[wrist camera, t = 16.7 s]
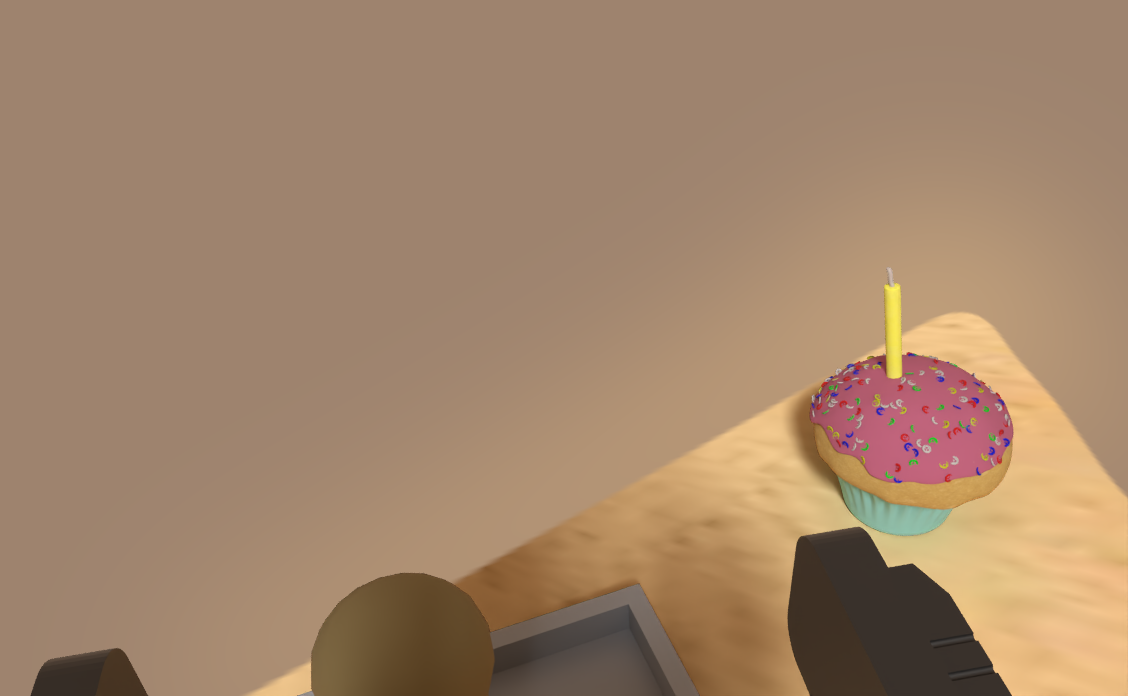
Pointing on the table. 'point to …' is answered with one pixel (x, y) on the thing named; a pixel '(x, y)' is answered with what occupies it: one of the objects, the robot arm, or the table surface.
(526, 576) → the table surface
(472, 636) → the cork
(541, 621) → the gray tray
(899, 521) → the cupcake
